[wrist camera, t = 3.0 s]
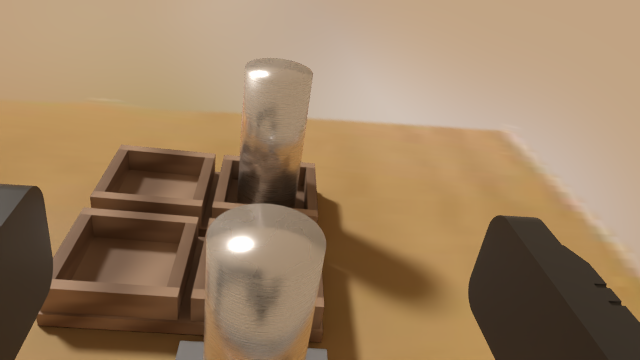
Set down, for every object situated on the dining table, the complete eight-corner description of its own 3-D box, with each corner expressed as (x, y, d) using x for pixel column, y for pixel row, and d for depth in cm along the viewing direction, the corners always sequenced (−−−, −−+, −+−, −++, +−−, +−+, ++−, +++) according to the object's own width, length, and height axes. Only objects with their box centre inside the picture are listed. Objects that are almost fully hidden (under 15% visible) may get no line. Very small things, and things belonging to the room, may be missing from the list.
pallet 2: (38, 325, 32) (30, 289, 30) (85, 238, 39) (81, 205, 37) (321, 342, 34) (327, 309, 32) (316, 256, 41) (321, 225, 39)
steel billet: (224, 475, 25) (237, 294, 19) (187, 393, 28) (188, 217, 22) (312, 430, 28) (349, 258, 21) (268, 360, 31) (289, 194, 25)
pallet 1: (90, 229, 40) (86, 197, 38) (121, 172, 47) (119, 143, 46) (315, 247, 42) (320, 218, 40) (312, 189, 49) (316, 162, 47)
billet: (252, 226, 41) (264, 86, 35) (227, 193, 45) (234, 60, 39) (305, 212, 44) (325, 79, 38) (277, 182, 47) (291, 56, 41)
